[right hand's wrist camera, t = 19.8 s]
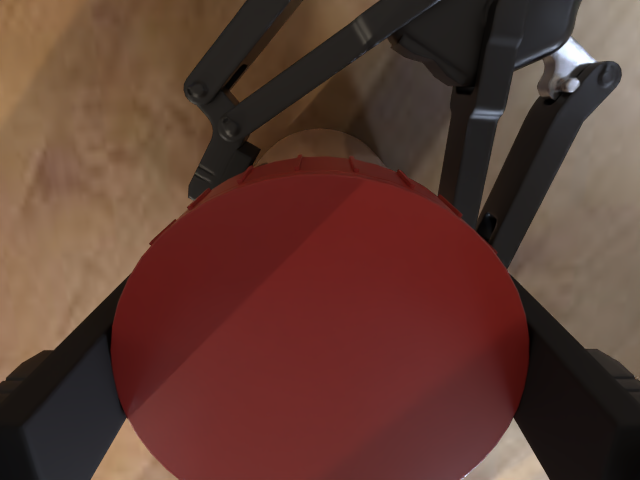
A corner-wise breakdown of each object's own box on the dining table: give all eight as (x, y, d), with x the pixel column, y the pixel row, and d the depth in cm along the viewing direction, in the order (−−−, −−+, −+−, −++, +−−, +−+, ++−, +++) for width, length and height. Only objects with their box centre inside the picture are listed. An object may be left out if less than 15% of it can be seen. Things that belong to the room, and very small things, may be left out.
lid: (102, 172, 11) (48, 194, 9) (504, 133, 11) (552, 146, 8) (184, 469, 14) (160, 538, 12) (488, 447, 14) (519, 514, 12)
